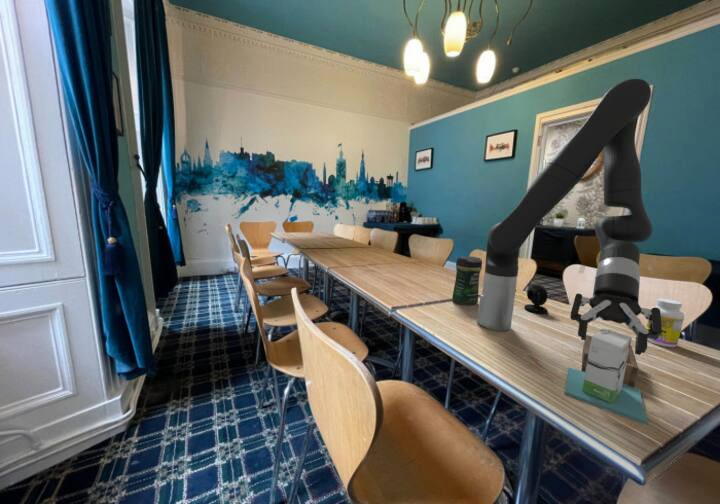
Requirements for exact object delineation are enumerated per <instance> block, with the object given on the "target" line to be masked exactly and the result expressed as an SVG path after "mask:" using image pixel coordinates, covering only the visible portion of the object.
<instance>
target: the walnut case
mask: <svg viewBox="0 0 720 504" xmlns="http://www.w3.org/2000/svg"><path fill="white" fill-rule="evenodd" d="M592 336H593V335H589V334H586V338H585V340H583V341H584V342H583V347H582V358H581V371H583V372H585V371H586V366H587V360H588V354H589V348H590V343H591V338H592ZM638 372H639V365H638V362H637V359H636V354H635V351H634V349H633V346H632V345H630V349H629V354H628V359H627V364H626V369H625V374H624V379H623V384H624V385H627V386H630V387H634V388H636V387H635V386H636V382H637V377H638Z"/></svg>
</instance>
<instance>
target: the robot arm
mask: <svg viewBox="0 0 720 504" xmlns="http://www.w3.org/2000/svg"><path fill="white" fill-rule="evenodd" d="M651 97H652V89H651V86H650V84H649V83H648V82H647V80H645V79H641V78H629V79H625V80H623V81H621V82H619V83H616V84H615V85H613V86H612V87H610V88H609V89H608V90H607V92H605V94H604V95H603V97H602V98H601V99H600V101H599V102H598V104H597V105H596V107H595V108H594V109H593V111H592V113H591V114H590V116H589V117H588V118H587V119H586V121H584V123H583V124H582V126H581V127H580V128H579V130H577V131H576V133H575V134H573V136H572V137H571V138H570V139H569V140H567V141H566V143H565V144H564V145H563V146H562V147H561V148H560V149H559V151H557V152H556V154H555V155H554V156H553V157H552V158H551V159H550V160H549V161H548V162H547V164H546V165H545V166H544V167H543V168H542V169H541V170H540V172H539V173H538V174H537V176H536V177H535V178H534V179H533V181H532V182H531V184H530V186H529V187H528V188H527V190H526V192H525V194H524V195H523V197H522V198H521V200H520V202H519V203H518V204H517V205H516V207H515V208H514V209H513V210H512V211H511V212H510V213H509V214H508V215H507V216H506V217H505V218H504V219H503V220H501V222H499V223H498V222H497V223H496V224H494V225H493V226H492V227H491V228H490V229H489V231H488V234H487V235H488V236H487V244H486V251H485V252H486V254H485V263H484V265H485V268H484V275H483V276H484V278H483V285H482V294H480V296H479V301H478V302H479V304H478V312H477V322H476V323H477V324H478V325H480V326H482V327H484V328H486V329H489V330H493V331H499V332H505V331H510V330H511V328H512V321H513V313H514V305H515V299H516V298H515V297H516V292H517V291H516V290H517V289H516V288H517V283H518V276H519V275H518V274H519V254H520V253H519V252H520V248H521V247H522V246H523V245H524V243H525V242H526V241H527V239H528V238H529V236H530V234H531V233H532V232H533V231H534V230H535V228H536V227H537V226H538V224H539V223H540V222H541V221H542V219H543V218H545V216H546V215H548V213H550V212H551V211H552V210H553V209H554V208H555V207H556V206H557V205H558V204H559V203H560V202H561V201H562V200H564V198H565V197H566V196H567V195H568V194H569V193H570V192H571V191H572V190H573V189H574V187H576V185H577V184H578V183H579V182H580V181H581V180H582V179H583V177H584V176H585V175H586V174H587V172H588V171H589V170H590V169H591V167H592V166H593V165H594V163H595V161H597V159H598V157H599V156H600V154H601V153H602V151H603V203H604V205H605V206H606V207H609V208H623V209H627V210H629V211H630V213H631V214H625V215H615V216H614V215H612V216H604V217H601V218H600V219H599V220H597V222H596V223H595V227H594V231H595V236H596V239H597V241H598V244H599V248H600V253H599V261H598V266H597V269H596V270H595V271H596V273H595V276H594V285H593V286H594V287H593V292H592V296H591V297H586V296H583V295H582V294H581V293H575V297H574V299H573V300H574V301H573V303H572V307H571V311H570V316H569V318H570V319H571V321H576V322H577V323H578V331H577V336H578V337H580V340H582V341H584V340H585V338H586V335H587V333H588V326H589V323H590V322H594V321H595V320H598V319H599V318H600V319H601V320H602V321H607V322H613V323H616V324H625V325H626V326H627V328H629V330H631V331H632V332H633V333H634V334H635V335H636V337H635V347H634V355H638V356H640V355H642V353H643V354H645V352H646V351H647V349H648V341H647V339H648V338H653V339H658V338H659V336H660V334H661V333H662V327H661V314H660V309H659V308H656V307H655V306H653V307H654V308H652V307H651V308H652V309H651V308H645V307H641V306H640V303H639V298H640V297H639V295H640V283H641V272H640V257H641V256H640V255H641V252H640V247H639V246H637V245H636V244H637V243H643V242H647V240H649V239H650V237H651V236H652V233H653V225H652V223H651V221H650V218H649V216H648V213H647V211H646V209H645V206H644V203H643V198H642V197H643V196H642V171H641V165H640V161H639V157H638V154H637V150H636V143H635V142H636V131H637V124H638V120H639V117H640V116H641V115H642V113H643V112H644V110H645V109H646V107H648V104H649V103H650V100H651ZM635 243H636V244H635ZM587 304H589V305H588V306H590V308H591V309H589V310H588V311H587V312H586V313H584V314H580V313H579V312H580V307H584V306H585V305H587ZM639 315H643V316H644V318H645V319H646V320H647V321H648V320H649V328H650V329H646V328H647V327H645V325H644V324H643V323H642V321H641V319H640V318H639V317H638V316H639Z"/></svg>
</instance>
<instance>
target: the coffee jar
mask: <svg viewBox="0 0 720 504" xmlns="http://www.w3.org/2000/svg"><path fill="white" fill-rule="evenodd" d="M455 268H456V270H455V271H456V274H455V281H454V286H453V291H452V298H451V299H452V301H453V302H454V303H456V304H461V305H463V306H467V305H475V304H478V302H479V289H480V288H479V287H480V286H479V285H480V274H481V272H482V268H483V260H482V258H480V257H476V256H459V257H458V258H456V262H455Z"/></svg>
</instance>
